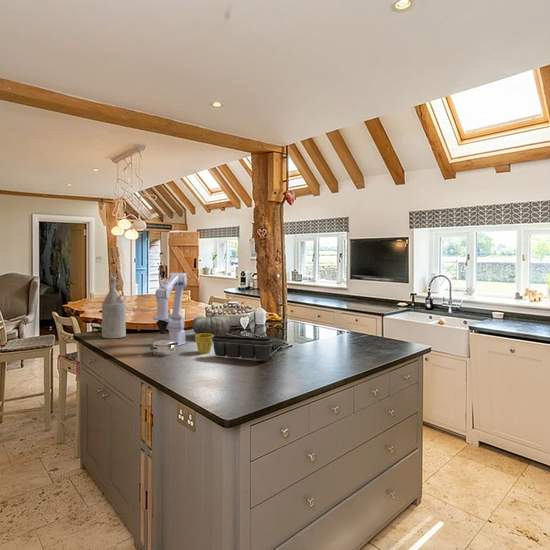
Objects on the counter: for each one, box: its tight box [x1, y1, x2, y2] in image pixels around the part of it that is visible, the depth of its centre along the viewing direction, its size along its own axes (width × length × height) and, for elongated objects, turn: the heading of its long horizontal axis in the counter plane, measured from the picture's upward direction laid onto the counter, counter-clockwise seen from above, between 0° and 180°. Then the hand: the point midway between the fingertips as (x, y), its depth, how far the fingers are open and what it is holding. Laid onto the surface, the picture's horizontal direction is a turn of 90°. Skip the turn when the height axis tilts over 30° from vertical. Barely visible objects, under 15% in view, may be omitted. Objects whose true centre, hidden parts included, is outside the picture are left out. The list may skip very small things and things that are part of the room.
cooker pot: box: [149, 342, 179, 357], centre depth 219 cm, size 17×12×5 cm
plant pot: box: [194, 334, 214, 355], centre depth 223 cm, size 10×10×10 cm
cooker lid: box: [152, 339, 176, 346], centre depth 218 cm, size 12×14×1 cm
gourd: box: [191, 311, 231, 336], centre depth 265 cm, size 25×25×17 cm
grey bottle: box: [101, 276, 127, 339], centre depth 259 cm, size 13×17×40 cm
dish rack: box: [211, 329, 287, 360], centre depth 226 cm, size 34×44×12 cm
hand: (162, 333), depth 221 cm, fingers closed
